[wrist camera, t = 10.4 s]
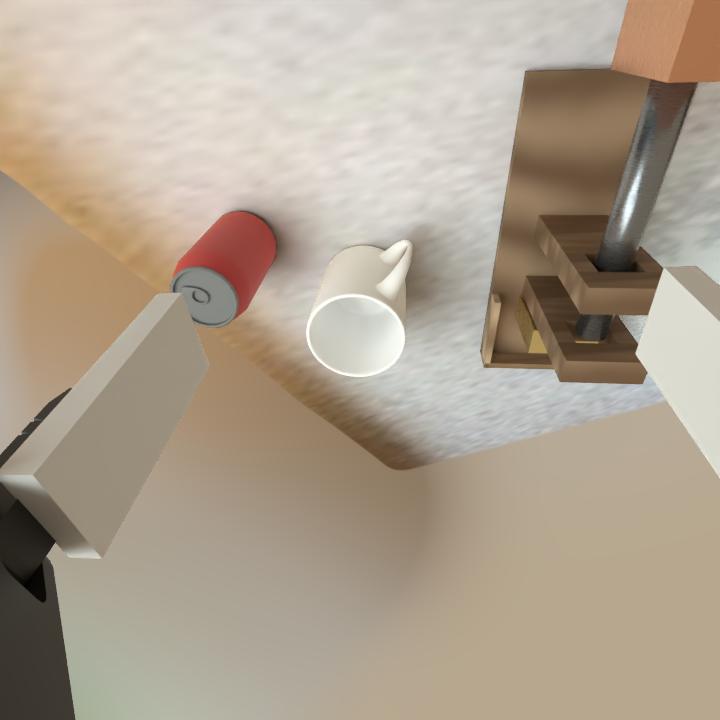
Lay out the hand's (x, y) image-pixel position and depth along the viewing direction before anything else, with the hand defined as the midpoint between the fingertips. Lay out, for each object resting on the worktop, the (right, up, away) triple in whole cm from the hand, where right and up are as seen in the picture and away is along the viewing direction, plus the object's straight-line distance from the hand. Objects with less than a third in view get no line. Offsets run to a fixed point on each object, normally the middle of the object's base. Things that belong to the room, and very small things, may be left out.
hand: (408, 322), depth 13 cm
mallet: (+17, +12, +20) cm, 29 cm away
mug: (0, +8, +34) cm, 35 cm away
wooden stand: (+18, +11, +29) cm, 36 cm away
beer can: (-13, +11, +33) cm, 37 cm away
